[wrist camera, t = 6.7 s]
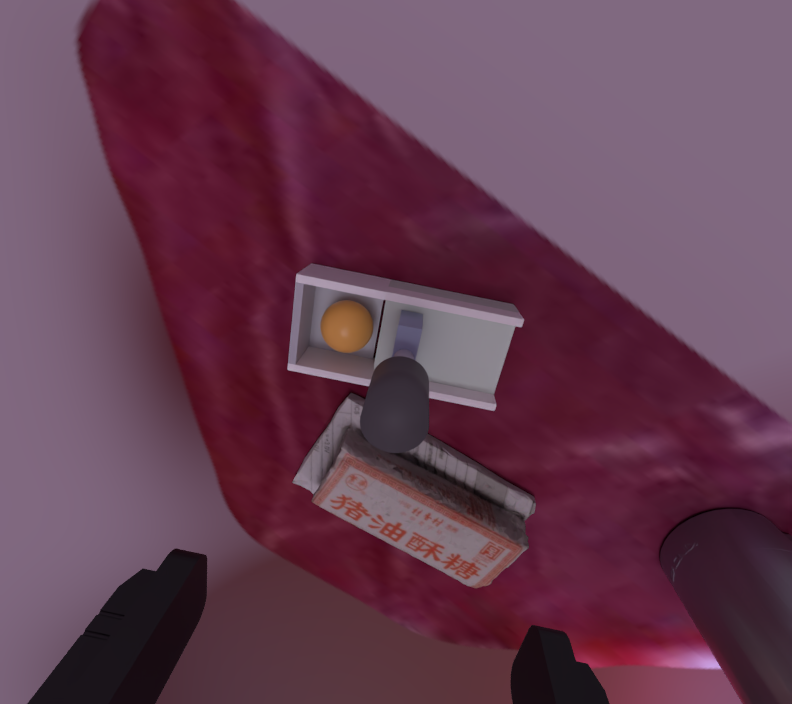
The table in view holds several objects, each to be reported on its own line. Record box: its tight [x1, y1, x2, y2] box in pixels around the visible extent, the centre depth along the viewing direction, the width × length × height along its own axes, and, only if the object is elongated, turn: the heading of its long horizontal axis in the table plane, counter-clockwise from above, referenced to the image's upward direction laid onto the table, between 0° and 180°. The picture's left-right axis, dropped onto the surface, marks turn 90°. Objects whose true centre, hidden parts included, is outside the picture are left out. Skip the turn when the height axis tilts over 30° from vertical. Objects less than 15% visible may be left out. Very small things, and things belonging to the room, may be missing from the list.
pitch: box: [369, 280, 524, 411], centre depth 28 cm, size 8×6×3 cm
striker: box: [360, 310, 429, 453], centre depth 23 cm, size 3×4×10 cm
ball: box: [320, 300, 373, 353], centre depth 28 cm, size 4×4×4 cm
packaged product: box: [292, 393, 536, 588], centre depth 33 cm, size 18×5×10 cm
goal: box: [287, 263, 391, 386], centre depth 28 cm, size 6×6×4 cm
